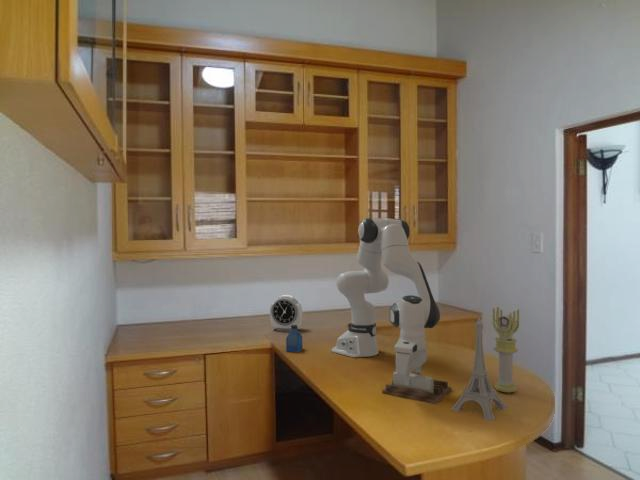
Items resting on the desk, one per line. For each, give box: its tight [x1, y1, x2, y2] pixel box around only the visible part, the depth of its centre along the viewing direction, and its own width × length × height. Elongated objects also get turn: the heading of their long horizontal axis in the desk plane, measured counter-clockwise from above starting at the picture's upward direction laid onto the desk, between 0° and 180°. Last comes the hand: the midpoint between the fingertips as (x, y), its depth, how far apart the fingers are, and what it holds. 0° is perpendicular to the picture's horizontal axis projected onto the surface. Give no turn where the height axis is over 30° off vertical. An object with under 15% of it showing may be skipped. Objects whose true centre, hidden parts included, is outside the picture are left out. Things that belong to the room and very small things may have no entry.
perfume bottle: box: [285, 325, 303, 353], centre depth 223 cm, size 6×6×12 cm
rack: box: [381, 378, 452, 405], centre depth 166 cm, size 20×16×3 cm
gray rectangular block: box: [392, 370, 434, 393], centre depth 163 cm, size 14×3×6 cm, turn 57°
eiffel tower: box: [450, 317, 508, 422], centre depth 150 cm, size 13×13×30 cm
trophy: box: [492, 306, 520, 394], centre depth 165 cm, size 8×8×30 cm
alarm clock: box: [269, 294, 303, 332], centre depth 265 cm, size 18×8×20 cm, turn 76°
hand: (412, 380), depth 163 cm, fingers open, 8 cm apart
